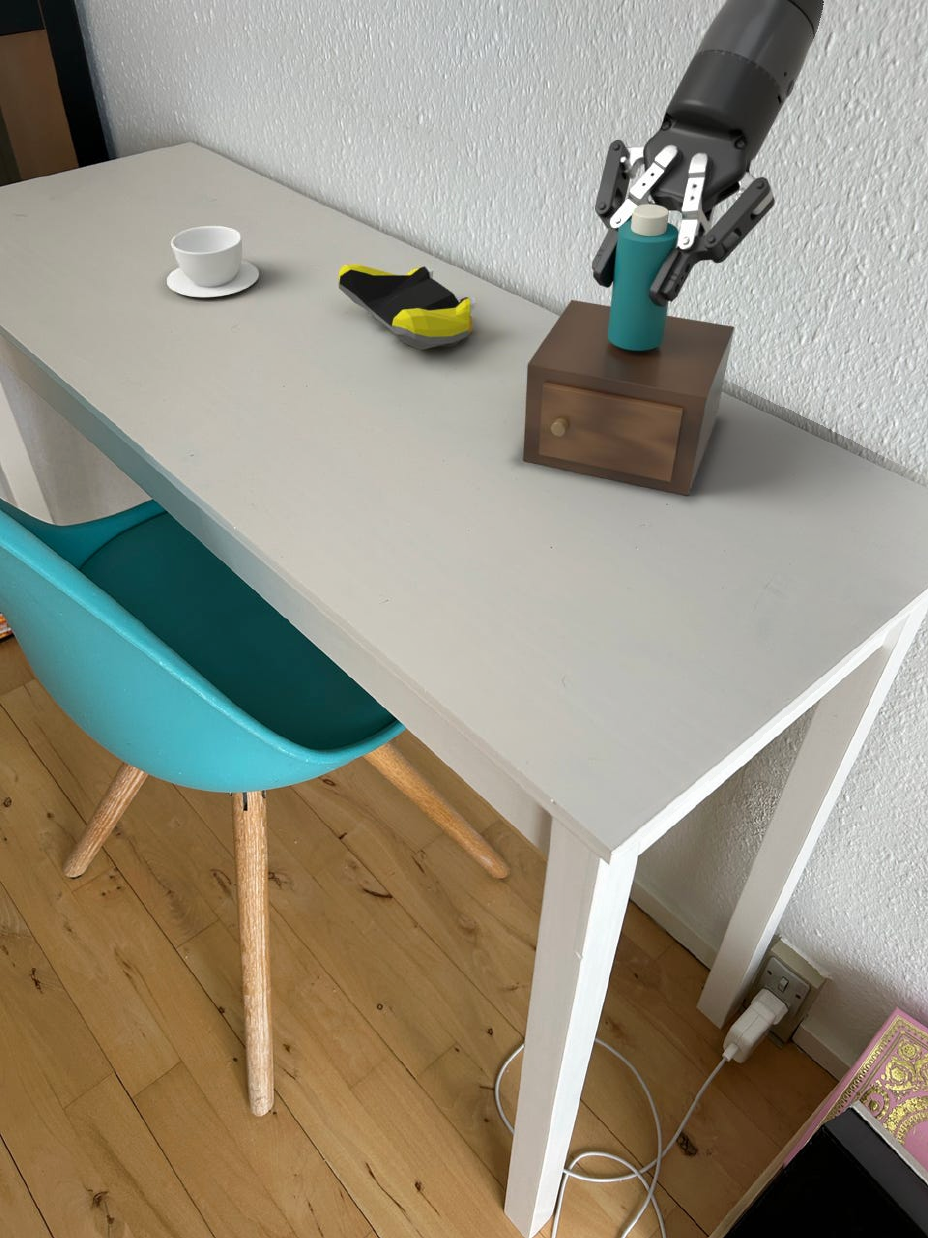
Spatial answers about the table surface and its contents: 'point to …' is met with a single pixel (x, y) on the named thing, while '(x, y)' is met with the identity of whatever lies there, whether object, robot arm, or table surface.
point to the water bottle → (640, 278)
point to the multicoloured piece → (410, 304)
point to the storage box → (625, 399)
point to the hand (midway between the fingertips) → (628, 290)
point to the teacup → (210, 263)
